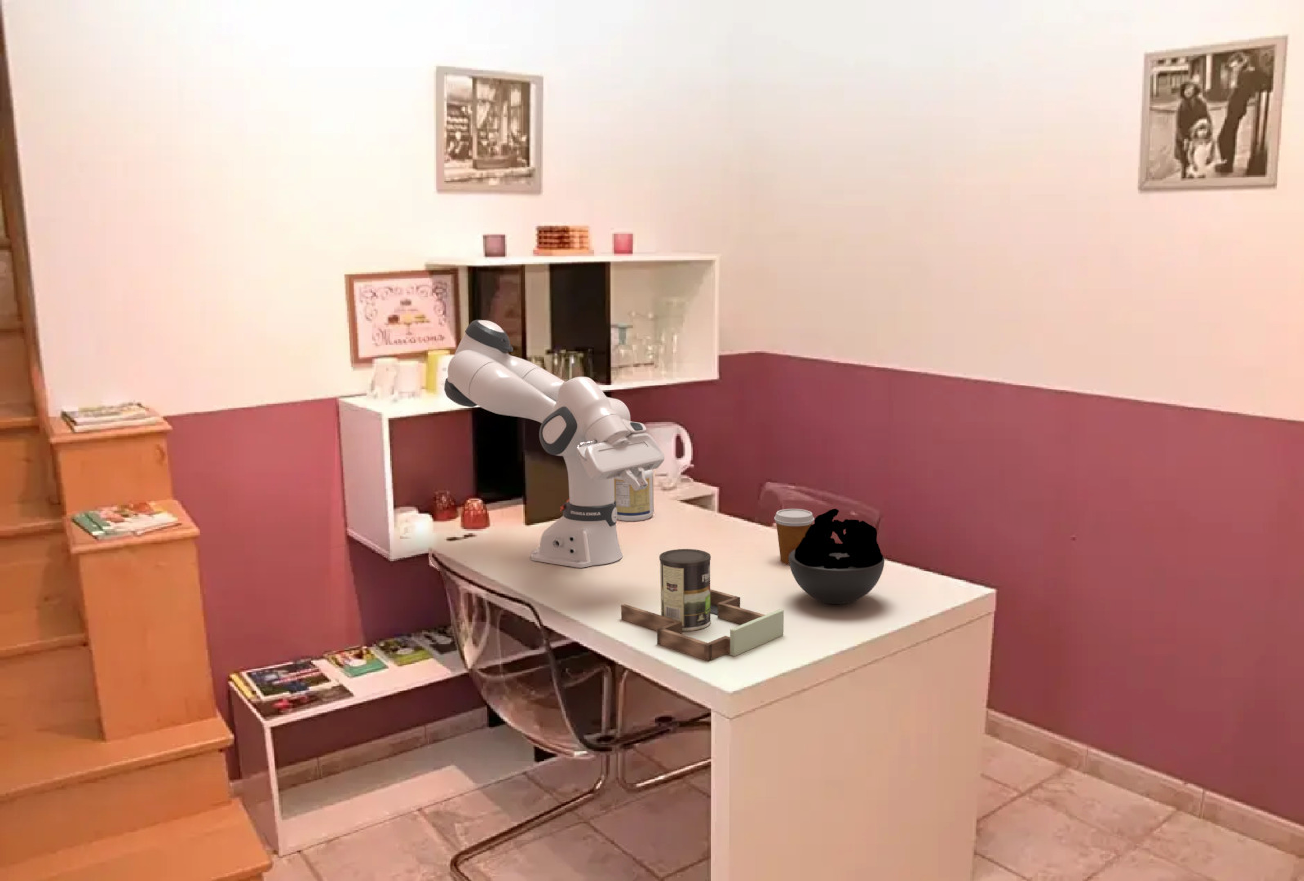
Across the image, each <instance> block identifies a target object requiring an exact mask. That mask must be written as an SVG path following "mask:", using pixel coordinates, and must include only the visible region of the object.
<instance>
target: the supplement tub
mask: <svg viewBox="0 0 1304 881" xmlns="http://www.w3.org/2000/svg"><path fill="white" fill-rule="evenodd" d="M653 470H654V469H652V470H648V471H644V472H645V479H646V481H647V483H648V486H647V487H646V488H645V489H641V490H637V491H635V490H634V489H633V488H632V486H631V485H629V484H628V483H626V482H625V481H623V480H622V478H621V477H616V478H614V500H616V508H617V521H622V522H640V521H645V520H648V519H650V518H651V517H653V515H654V512H655V509H654V506H655V504H654V502H655V501H654V499H655V498H654V495H655V494H654V493H655V492H654V471H653ZM631 475H632V476H634V475H633V474H631ZM634 477H635V476H634ZM635 478H636V479H637V477H635ZM637 480H638V479H637Z"/></svg>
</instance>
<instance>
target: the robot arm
mask: <svg viewBox="0 0 1304 881" xmlns="http://www.w3.org/2000/svg"><path fill="white" fill-rule="evenodd" d="M513 350H514V347H513V346H512V345H511V344H510V337H509V336H508V334H507V332H506V331H505V330H504V329H503V328H501V326H500V325H498V324H497V323H496V322H493V321H490V320H487V319H485V320H484V319H483V320H482V319H475V320H473V321H471V322H470V324H469V325H468V326H467V327H466V329H465V330H464V335H463V337H462V338H461V340H460V342H459V344H458V346H457V348H456V350H455V353H454V354H453V355H454V356H452V358H451V359H450V360H449V363H448V366H447V378H445V381H444V386H443V387H444V388H443V390H444V394H445V396H446V397H447V398H448V399H449V400H451V401H452V402H453V403H455V404H457V405H459V406H462V407H466V408H475V407H476V406H479V407H480V408H481V409H484V410H486V411H488V412H492V413H494V414H497V415H502V416H508V417H509V416H510V417H518V418H523V419H529V420H533V421H536V422H539V423H540V424H541V425H540V427H539V433H538V436H539V441H540V444H541V447H542V448H543V450H544V451H545V452H546V453H547V454H549V455H552V456H558V457H563V460H564V462H565V466H566V470H567V471H566V472H567V477H568V478H567V480H568V496H569V498H568V499H567V500H566V502H565V503H563V504H562V506H560V511H559V512H562V516H561V517H560V518H558V519H557V520H556V521H554V522H553V523H552V524H551V525H549V526H548V527H546V529H545V530H544V531H543V532H542V534H541V537H540V542H539V546H538V547H537V548H535V549H534V550H533V551H531V555H530V560H531V561H534V562H541V563H547V564H554V565H560V566H565V567H572V568H577V569H580V568H581V569H582V568H587V567H591V566H599V565H606V564H611V563H614V562H617V561H619V560H621V559H622V558H623V553H622V550H621V547H620V546H621V545H620V543H619V538H618V531H617V530H618V529H617V521H618V520H617V508H616V500H614V478H616V477H621V478H622V480H623V481H625V482H626V483H628V484H629V485H631V486H632V488H633V489H634V490H635V491H637V490H641V489H645V488H646V487H647V486H648V483H647V481H646V479H645V472H644V471H648V470H657V469H659V467H660V466H661V465H662V464H663V463H664V461H665V454H664V452H663V450H662V449H661V447H660V445H658V442H657V441H656V440H655V438H653V436H652V435H650V434H649V433H647V432H646V431H647V427H646V425H645V424H644V423H643V422H642V423H641V422H636V421H631V413H630V409H629V408H628V406H627V405H626V404H625V403H624V402H623V401H622V400H620V399H618V398H615V397H614V398H613V397H608V396H607V395H606V394H605V393H604V392H603V390H602V389H601V387H600V386H599V385H598V384H597V383H596V382H595V381H594V380H593V379H592V378H590V377H588V376H575V377H572V378H570V379H568V380H566V381H565V380H563V379H561V378H560V377H558V376H557V375H555V374H553V373H551V372H550V371H548V370H546V369H544V368H542V367H540V366H539V365H538V364H535V363H533V362H531V361H529V360H527V359H524V358H521V357H517V356H513V355H511V354H509V352H510V353H512V352H513ZM631 474H633V475H634V476H635V477H637V479H638V480H637V479H636V478H635V477H634V476H632V475H631Z"/></svg>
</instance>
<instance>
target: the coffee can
mask: <svg viewBox="0 0 1304 881" xmlns="http://www.w3.org/2000/svg"><path fill="white" fill-rule="evenodd" d="M658 558H659V562H660V563H659V569H660V570H659V571H660V572H659V574H660V578H659V579H660V582H659V583H660V615H661V616H664V617H668V618H671V619H674V620H677V621H680V622H682V632H692V631H698V630H699V631H700V630H703V629H705V628H707V627H709V626H710V625H711V623H712V619H711V613H710V589H711V558H712V556H711V554H710V552H707V551H704V550H700V549H693V548H678V549H676V548H675V549H671V550H666V551H664V552H662V553H660V554H659V557H658Z"/></svg>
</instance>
